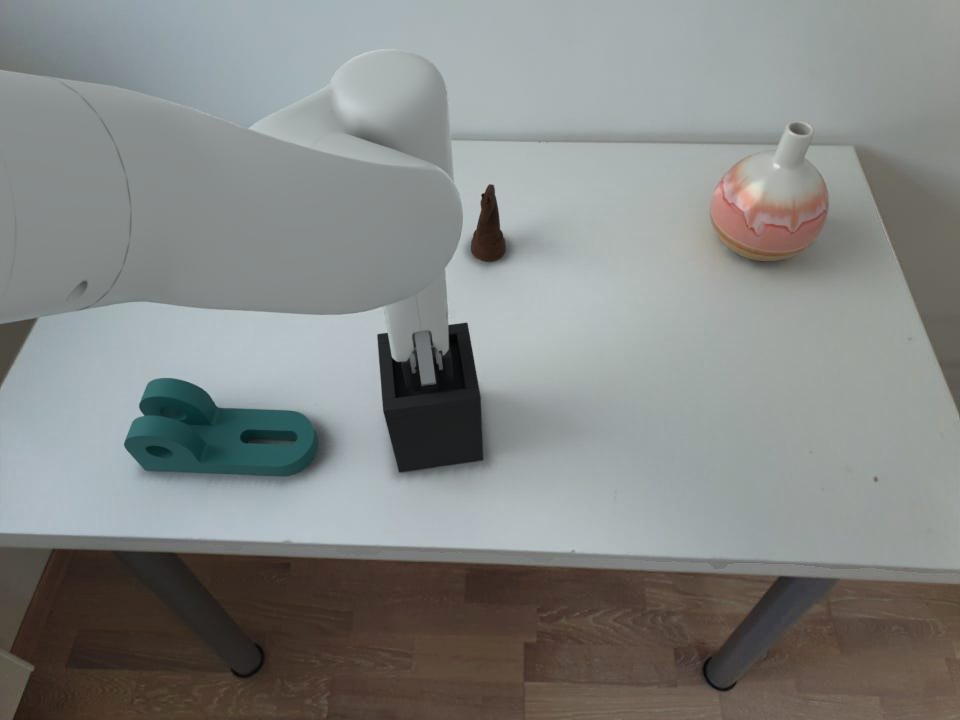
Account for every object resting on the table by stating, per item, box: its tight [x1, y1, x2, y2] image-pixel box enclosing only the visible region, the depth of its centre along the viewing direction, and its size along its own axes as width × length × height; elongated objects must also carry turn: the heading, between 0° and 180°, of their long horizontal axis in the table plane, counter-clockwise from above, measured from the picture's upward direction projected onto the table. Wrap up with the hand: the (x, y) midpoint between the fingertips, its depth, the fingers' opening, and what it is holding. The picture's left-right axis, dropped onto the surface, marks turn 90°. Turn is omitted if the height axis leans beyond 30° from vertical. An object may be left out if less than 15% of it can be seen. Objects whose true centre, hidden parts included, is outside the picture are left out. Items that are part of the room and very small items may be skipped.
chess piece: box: [470, 183, 507, 263], centre depth 89 cm, size 5×5×10 cm
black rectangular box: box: [376, 322, 484, 473], centre depth 72 cm, size 9×9×12 cm
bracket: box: [123, 377, 319, 477], centre depth 74 cm, size 18×7×8 cm, turn 87°
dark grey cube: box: [401, 343, 454, 388], centre depth 66 cm, size 4×4×4 cm
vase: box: [709, 119, 830, 262], centre depth 86 cm, size 14×14×18 cm
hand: (427, 363), depth 67 cm, fingers closed on dark grey cube, 4 cm apart
